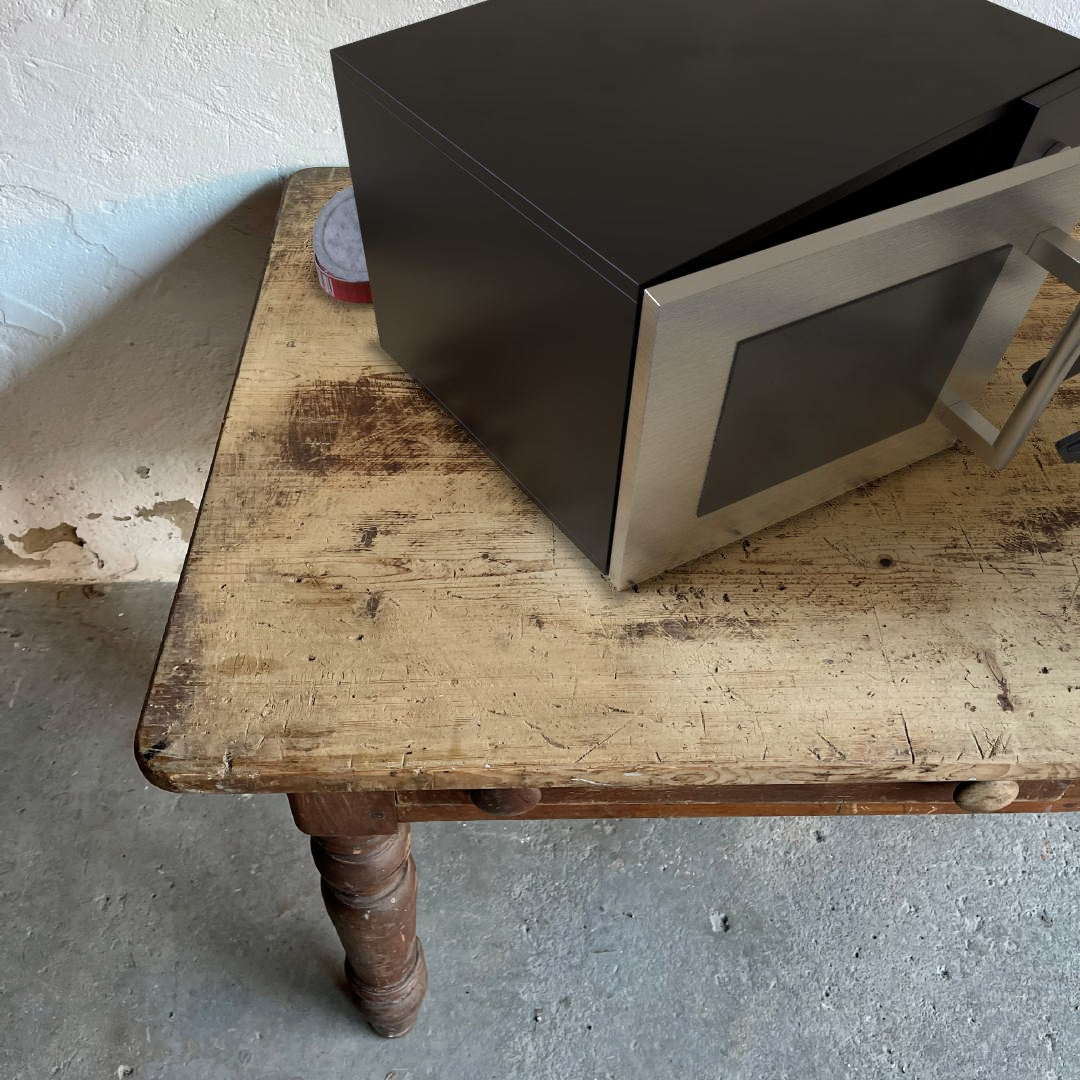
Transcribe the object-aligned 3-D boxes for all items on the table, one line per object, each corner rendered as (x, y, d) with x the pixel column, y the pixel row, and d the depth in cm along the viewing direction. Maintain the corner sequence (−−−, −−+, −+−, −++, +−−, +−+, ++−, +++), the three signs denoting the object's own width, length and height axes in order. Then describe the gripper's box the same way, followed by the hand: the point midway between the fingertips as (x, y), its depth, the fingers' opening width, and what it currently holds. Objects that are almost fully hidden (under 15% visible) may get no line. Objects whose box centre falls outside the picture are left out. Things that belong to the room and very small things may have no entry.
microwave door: (1006, 495, 76) (1201, 202, 54) (661, 657, 66) (727, 379, 44) (940, 434, 80) (1097, 139, 58) (608, 578, 70) (643, 288, 48)
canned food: (419, 303, 98) (449, 247, 90) (348, 339, 93) (372, 284, 84) (356, 222, 98) (380, 159, 90) (281, 254, 93) (299, 190, 84)
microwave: (982, 359, 87) (1140, 63, 64) (624, 598, 70) (668, 307, 47) (719, 190, 104) (771, -90, 81) (380, 348, 87) (328, 49, 64)
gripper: (1246, 179, 57) (989, 325, 67) (1375, 326, 49) (1059, 471, 58) (1273, 248, 62) (1028, 377, 71) (1395, 395, 53) (1099, 519, 63)
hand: (1043, 418), depth 65 cm, fingers open, 6 cm apart
